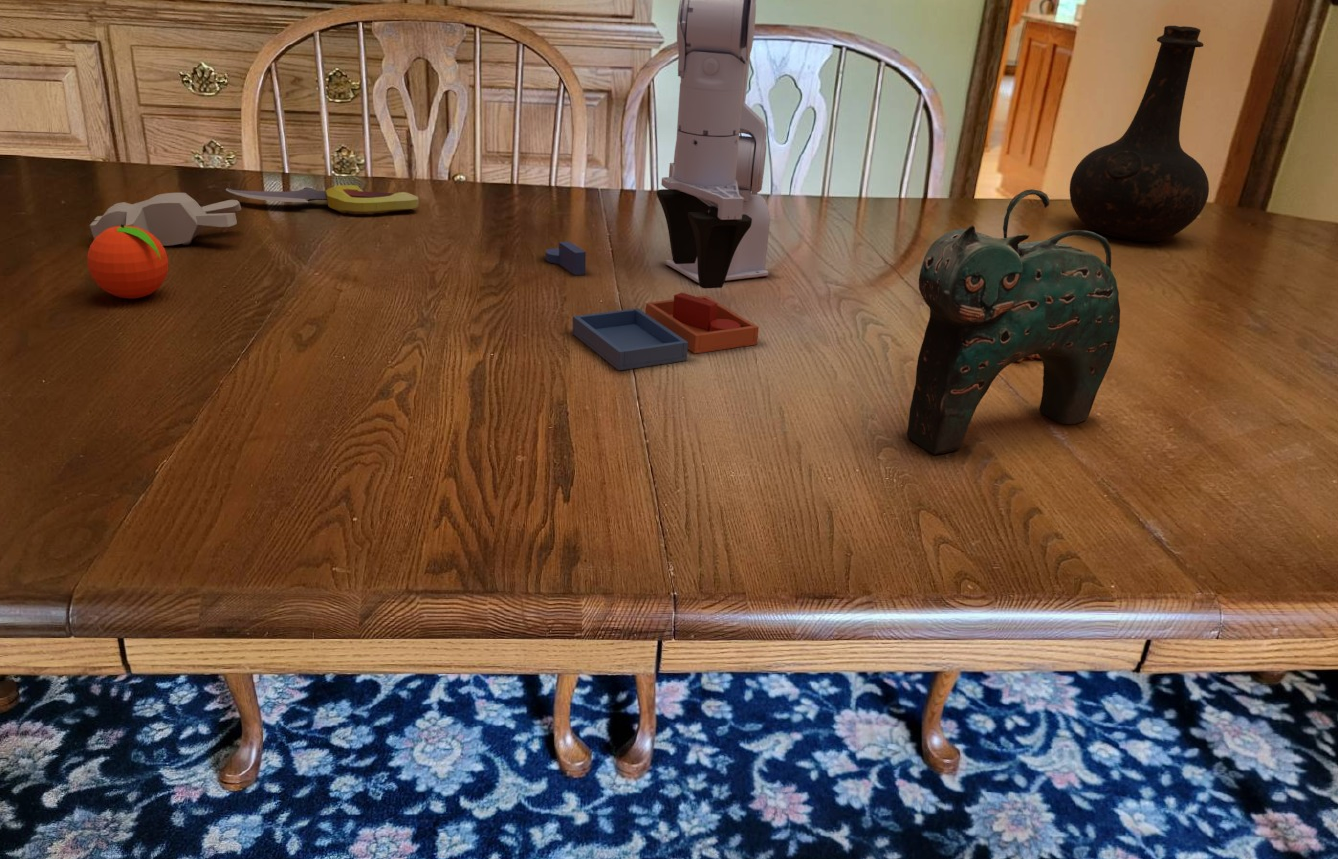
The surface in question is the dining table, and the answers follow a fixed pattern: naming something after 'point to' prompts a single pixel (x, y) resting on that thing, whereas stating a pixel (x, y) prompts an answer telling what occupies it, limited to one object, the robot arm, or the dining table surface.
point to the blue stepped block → (568, 257)
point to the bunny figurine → (168, 217)
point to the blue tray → (629, 339)
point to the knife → (341, 198)
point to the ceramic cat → (1010, 326)
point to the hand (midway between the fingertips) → (697, 274)
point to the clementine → (127, 262)
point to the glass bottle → (1147, 159)
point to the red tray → (702, 338)
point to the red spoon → (700, 313)
